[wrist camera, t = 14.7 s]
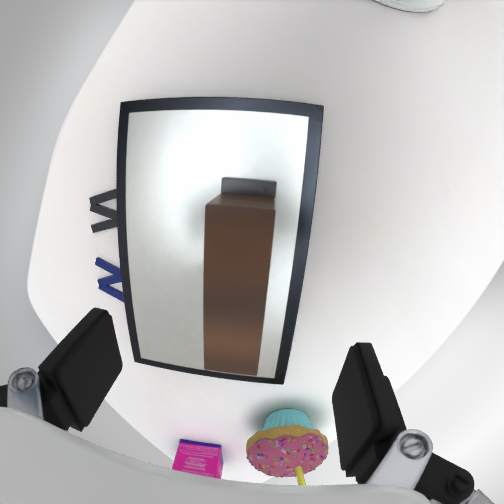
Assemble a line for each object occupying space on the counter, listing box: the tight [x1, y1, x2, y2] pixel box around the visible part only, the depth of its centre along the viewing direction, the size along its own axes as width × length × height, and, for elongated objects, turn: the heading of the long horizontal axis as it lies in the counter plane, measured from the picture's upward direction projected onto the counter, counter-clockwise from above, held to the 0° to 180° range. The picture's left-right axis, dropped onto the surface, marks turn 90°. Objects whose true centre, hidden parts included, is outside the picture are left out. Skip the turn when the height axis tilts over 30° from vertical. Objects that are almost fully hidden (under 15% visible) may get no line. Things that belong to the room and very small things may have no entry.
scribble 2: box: [95, 257, 124, 302], centre depth 24 cm, size 4×3×1 cm
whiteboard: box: [117, 97, 324, 384], centre depth 22 cm, size 24×15×1 cm, turn 175°
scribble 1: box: [89, 189, 117, 233], centre depth 22 cm, size 4×3×1 cm
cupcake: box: [246, 409, 328, 486], centre depth 22 cm, size 9×8×12 cm
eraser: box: [203, 177, 277, 376], centre depth 19 cm, size 13×4×6 cm, turn 176°
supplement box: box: [172, 439, 223, 479], centre depth 26 cm, size 6×6×12 cm
